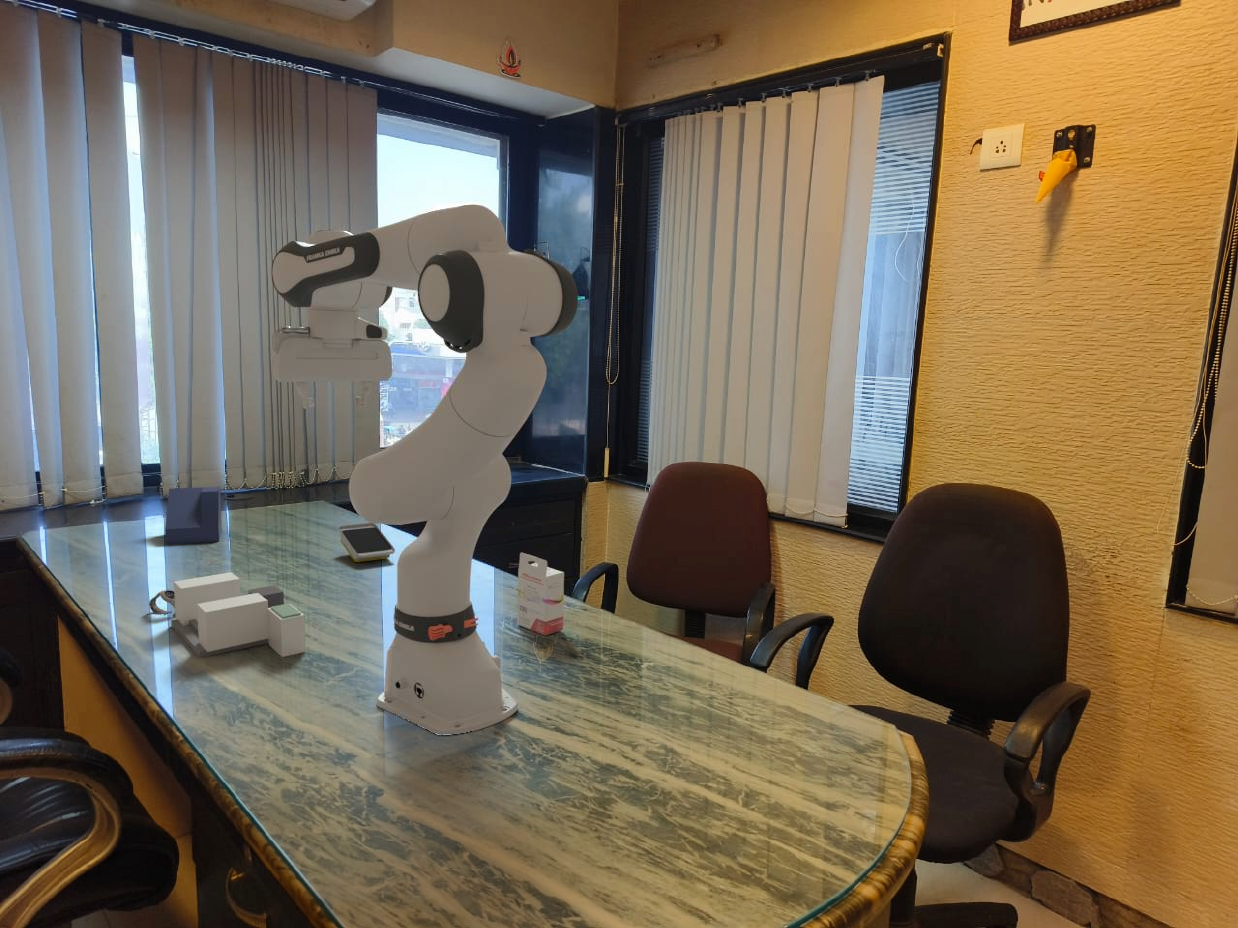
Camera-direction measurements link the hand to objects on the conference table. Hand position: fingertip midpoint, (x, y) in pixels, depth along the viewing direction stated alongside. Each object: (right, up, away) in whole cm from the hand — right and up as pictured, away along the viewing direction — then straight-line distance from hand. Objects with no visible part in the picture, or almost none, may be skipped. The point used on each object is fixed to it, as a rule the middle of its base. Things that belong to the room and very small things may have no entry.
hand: (335, 407), depth 139 cm
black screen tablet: (-17, -27, +63) cm, 70 cm away
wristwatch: (-38, -39, +14) cm, 56 cm away
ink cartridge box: (+35, -42, +15) cm, 57 cm away
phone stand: (-61, -29, +68) cm, 96 cm away
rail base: (-22, -41, +5) cm, 47 cm away
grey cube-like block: (-20, -39, +19) cm, 48 cm away
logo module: (-9, -43, 0) cm, 44 cm away
